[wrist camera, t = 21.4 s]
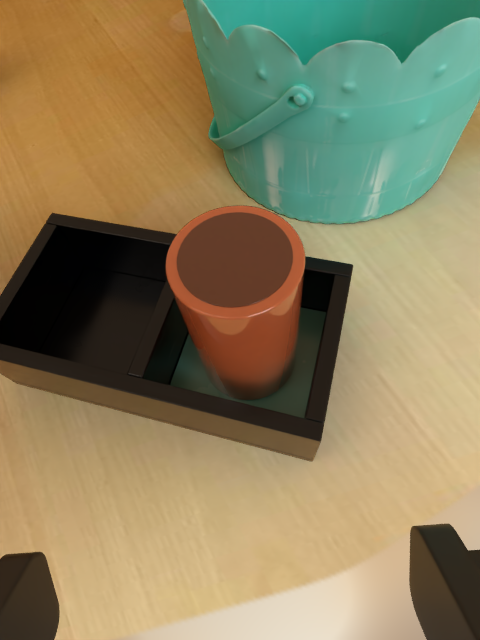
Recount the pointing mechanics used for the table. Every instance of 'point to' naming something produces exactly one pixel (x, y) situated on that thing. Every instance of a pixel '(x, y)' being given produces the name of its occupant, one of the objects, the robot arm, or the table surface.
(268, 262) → the cup
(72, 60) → the table surface
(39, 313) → the caddy
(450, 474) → the table surface
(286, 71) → the basket
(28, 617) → the robot arm
